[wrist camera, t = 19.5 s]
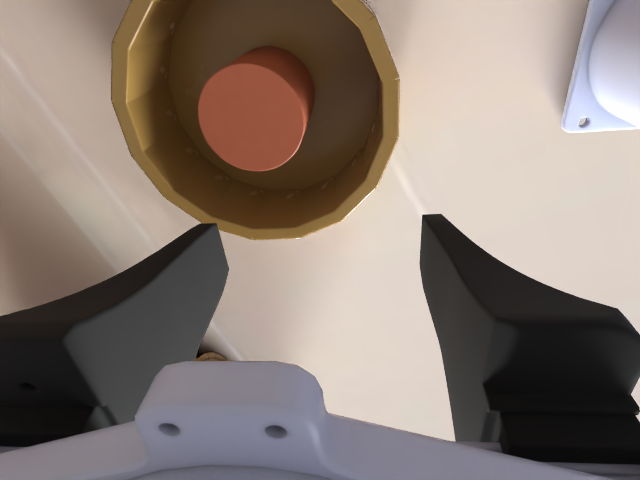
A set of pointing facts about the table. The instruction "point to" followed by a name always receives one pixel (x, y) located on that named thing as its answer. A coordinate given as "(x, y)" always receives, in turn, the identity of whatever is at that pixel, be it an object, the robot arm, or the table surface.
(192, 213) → the tin
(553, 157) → the table surface
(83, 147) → the table surface
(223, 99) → the candle
